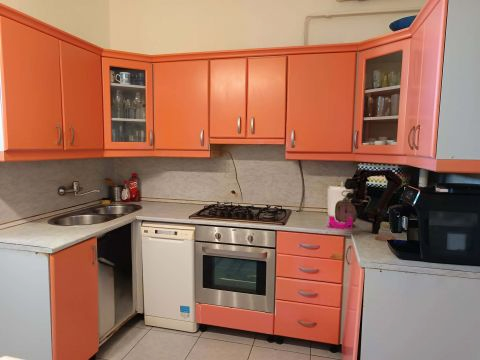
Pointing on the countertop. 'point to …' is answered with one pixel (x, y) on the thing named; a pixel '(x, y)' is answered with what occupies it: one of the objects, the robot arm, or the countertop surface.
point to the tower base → (384, 238)
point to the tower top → (385, 234)
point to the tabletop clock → (345, 210)
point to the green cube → (385, 226)
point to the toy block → (340, 225)
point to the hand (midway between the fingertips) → (360, 213)
